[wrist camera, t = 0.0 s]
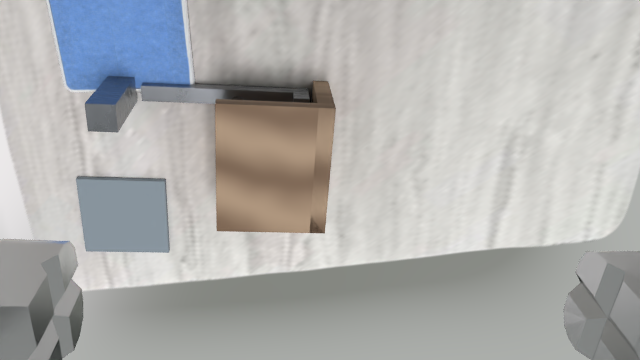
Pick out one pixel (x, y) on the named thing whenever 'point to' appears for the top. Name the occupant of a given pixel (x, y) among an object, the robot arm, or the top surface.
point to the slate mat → (124, 214)
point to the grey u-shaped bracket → (170, 98)
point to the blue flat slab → (121, 41)
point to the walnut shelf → (274, 163)
